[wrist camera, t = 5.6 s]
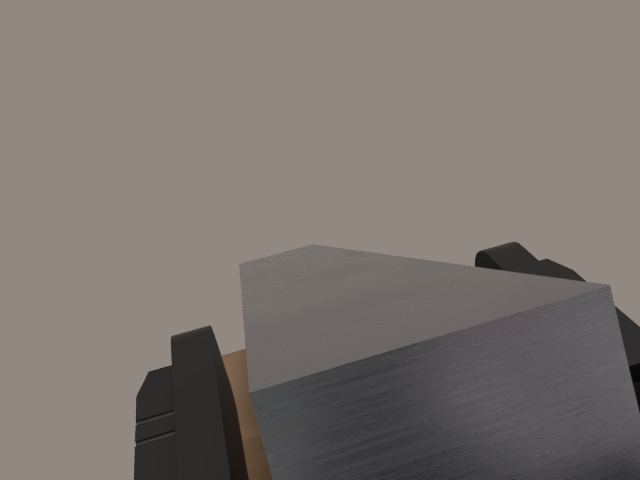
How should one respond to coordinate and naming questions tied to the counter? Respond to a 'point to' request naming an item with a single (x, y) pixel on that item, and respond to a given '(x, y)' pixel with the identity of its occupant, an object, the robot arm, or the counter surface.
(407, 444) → the brushed steel bar
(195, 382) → the robot arm
